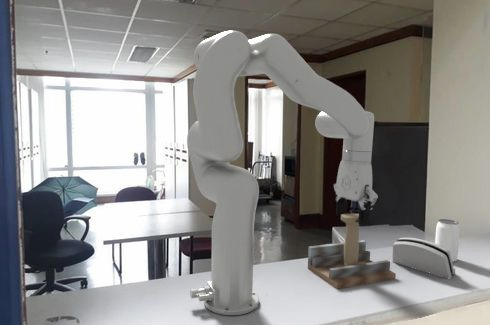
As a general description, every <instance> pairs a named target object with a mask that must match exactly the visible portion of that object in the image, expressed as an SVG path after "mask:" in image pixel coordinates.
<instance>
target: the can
mask: <svg viewBox="0 0 490 325" xmlns="http://www.w3.org/2000/svg"><path fill="white" fill-rule="evenodd" d="M435 228H436V229H435V240H434V244H437V245H439V246H441V247H443V248H445V249H447V250H448V251H449V252H450V254H451V259H452V263H455V262H456V261H458V254H459V244H460V230H461V227H460V223H459V221H456V220H453V219H449V218H448V219H447V218H446V219H445V218H440V219H438V222H437V223H436V227H435ZM454 261H455V262H454Z"/></svg>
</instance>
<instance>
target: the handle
mask: <svg viewBox="0 0 490 325" xmlns="http://www.w3.org/2000/svg"><path fill="white" fill-rule="evenodd" d="M358 218H359V213H347V214H342V215H341V216H340V220H341V222H343V223H345V235H344V242H345V243H344V262H345V263H344V266H351V265H357V261H358V255H359V241H360V240H359V238H360V237H359V234H360V231H359V228H360V225H359V224H358Z"/></svg>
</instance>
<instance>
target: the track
mask: <svg viewBox="0 0 490 325" xmlns="http://www.w3.org/2000/svg"><path fill="white" fill-rule="evenodd" d="M344 243H345V241H343V242H337V243H336V242H335V243H326V244H320V245H313V246H312V245H310V246H308V252H307V253H308V254H307V270H309V271H310V272H312V273H313V274H314V275H316V276H317V277H319V278H321V279H322V280H323V281H325V282H326V283H327V284H329V286H332V287H333V288H335V289H336V290H339V289H344V288H345V289H346V288H350V287H356V286H362V285H363V286H364V285H367V284H369V285H370V284H374V283H378V282H385V281H391V280H396V277H397V276H396V274H397V273H395V272H394V271H392V270H391V261H390V260H387V259H386V260H380V261H373V260H371V251H369V250H366V247H367V240H364V239H361V240H359V255H358V261H357V265H351V266H344V263H345V262H344Z"/></svg>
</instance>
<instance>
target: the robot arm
mask: <svg viewBox="0 0 490 325" xmlns="http://www.w3.org/2000/svg"><path fill="white" fill-rule="evenodd" d="M193 62H194V65H195V67H196V73H195V76H194V79H193V87H192V88H193V89H192V93H193V94H192V95H193V96H192V98H193V103H194V108H195V113H196V119H197V120H196V121H195V122H194V123H193V124H192V125H191V126H190V128H189V130H188V133H187V137H186V145H187V151H188V154H189V155H188V156H189V159H190V164H191V167H192V171H193V175H194V180H195V182H196V186H197V188H198V190H199V192H200V193H201V195H202V196H203V197H204V198H205V199H207V200H209V201H212V202H213V203H215V205H216V206H215V210H214V214H213V218H212V224H211V256H210V257H211V262H210V263H211V268H210V269H211V274H210V276H211V278H210V280H209V281H208V280H207V282H206V283H207V284H206V286H205V285H204V286H203V287H202V288H193V289H190V290H189V292H190V293H189V295H190V296H189V297H190V299H198V301H199V302H203V304H204V306H205V307H206V308H207V309H208V310H209V311H211V312H213V313H215V314H218V315H224V316H240V315H244V314H248V313H250V312H253V311H254V310H256V309H257V307H258V306H259V304H260V298H259V295H258V293H256V291H254V290H253V282H254V281H253V278H254V243H255V241H254V239H255V237H254V236H255V235H254V234H255V232H254V231H255V220H256V219H255V216H256V209H257V205H258V202H259V194H260V186H259V182H258V180H257V178H256V177H255V175H254V174H253V173H252V172H251V171H249V170H248V169H246V168H243V167H241V166H237V165H233V164H230V162H231V163H232V162H233V161H236V160H237V159H238V158H240V156H241V155H242V153H243V150H244V140H243V138H244V137H243V134H242V129H241V125H240V120H239V114H238V110H237V107H236V99H235V86H236V82H237V79H238V78H239V77H247V76H258V75H263V74H264V75H265V76H267V77H268V78H269V79H270V80H271V81H272V82H273V83H274V84H275V85H276V86H277V87H278V89H280V90H281V92H283V93H284V94H285V96H286V97H287V98H289V99H290V101H292V102H294V103H296V104H299V105H302V106H304V107H307V108H311V109H314V110H317V111H320V112H319V114H317V116H316V118H315V121H314V123H315V124H314V125H315V129H316V131H317V132H318V134H320V135H321V136H323V137H326V138H330V139H331V138H332V139H343V142H342V143H343V145H342V153H341V154H342V155H341V156H342V157H341V161H340V163H339V166H338V170H337V171H338V172H337V176H336V183H333V189H334V195H335V201H336V211H335V212H336V213H335V215H336V216H338V217H341V215H342V214H348V212H347V211H348V201H347V200H349V201H352V202H358V205H359V210H358V214H359V218H358V224H359V226H363V225H366V226H367V225H369V224H370V220H371V210H373V208H374V207H375V205H376V202H377V200H378V198H379V196H378V194H377V193H376V192H375V191H374V189H373V166H372V153H373V143H374V142H373V139H374V127H375V114H374V113H373V112H371V111H367V110H365V109H364V108H363V105H361V104H360V102H358V101H357V99H356V98H355V97H354V96H353V95H352V94H351V93H350V92H348V91H347V90H346V89H344V88H342V87H340V86H339V85H337V84H335V83H334V82H332V81H330V80H328V79H326V78H325V77H322V76H320V75H319V74H318V73H316V71H315V70H314V69H312V67H311V66H310V65H309V64H308V63H307V62H306V61H305V59H304V58H303V57H302V56H301V55H300V54H299V52H297V50H296V49H295V48H294V47H293V46H292V45H291V44H290V43H289V42H288V40H287V39H286V38H284V37H283V36H282V35H280V34H278V33H267V34H264V35H263V34H262V35H261V36H258V37H254V38H252V39H251V38H250V39H249V38H248V37H247V36H246V34H244V33H243V32H242V31H239V30H226V31H223V32H220V33H218V34H216V35H213V36H211V37H209V38H206V39H205V40H203V41H201V42H200V43H198V44H197V46H196V48H195V50H194V52H193Z"/></svg>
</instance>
